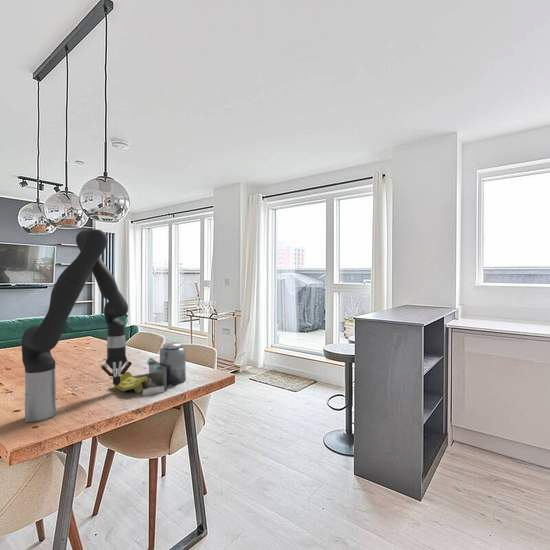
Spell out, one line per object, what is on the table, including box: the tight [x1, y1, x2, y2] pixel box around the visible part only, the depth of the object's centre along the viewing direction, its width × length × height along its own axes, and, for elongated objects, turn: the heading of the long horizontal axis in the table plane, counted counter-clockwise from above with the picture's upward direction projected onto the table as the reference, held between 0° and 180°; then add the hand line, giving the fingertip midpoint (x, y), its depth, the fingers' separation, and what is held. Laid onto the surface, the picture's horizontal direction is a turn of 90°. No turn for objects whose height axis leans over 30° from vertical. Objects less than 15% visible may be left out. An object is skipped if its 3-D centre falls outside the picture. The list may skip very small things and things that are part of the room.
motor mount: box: [132, 341, 187, 397], centre depth 162 cm, size 23×26×18 cm
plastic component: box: [112, 371, 150, 394], centre depth 154 cm, size 20×7×10 cm
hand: (116, 384), depth 151 cm, fingers closed
